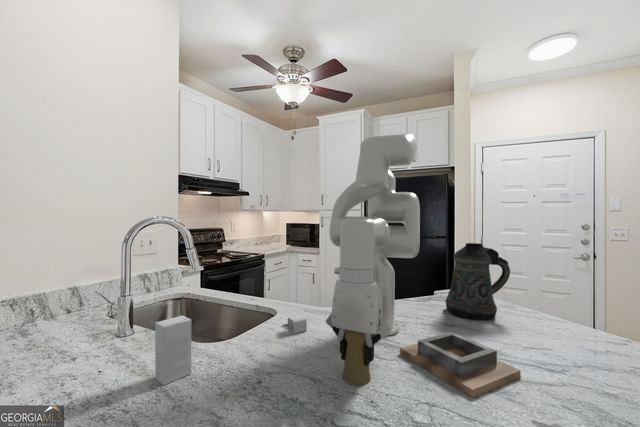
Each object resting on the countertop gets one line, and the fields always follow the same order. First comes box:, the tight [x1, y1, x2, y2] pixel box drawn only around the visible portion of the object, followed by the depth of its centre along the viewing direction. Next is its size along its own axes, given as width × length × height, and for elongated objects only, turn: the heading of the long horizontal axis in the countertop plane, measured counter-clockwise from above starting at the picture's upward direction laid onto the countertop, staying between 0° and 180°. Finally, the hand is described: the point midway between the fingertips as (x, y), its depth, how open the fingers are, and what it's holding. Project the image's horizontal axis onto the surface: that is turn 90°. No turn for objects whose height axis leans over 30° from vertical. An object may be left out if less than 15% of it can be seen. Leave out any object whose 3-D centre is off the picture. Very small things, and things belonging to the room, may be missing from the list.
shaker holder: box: [399, 331, 522, 398], centre depth 70 cm, size 20×16×4 cm
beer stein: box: [445, 242, 511, 322], centre depth 107 cm, size 16×19×25 cm
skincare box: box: [154, 315, 192, 386], centre depth 64 cm, size 6×4×12 cm
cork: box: [341, 330, 371, 386], centre depth 64 cm, size 6×6×11 cm
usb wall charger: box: [280, 315, 308, 335], centre depth 88 cm, size 4×7×4 cm, turn 122°
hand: (356, 359), depth 64 cm, fingers closed on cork, 4 cm apart
